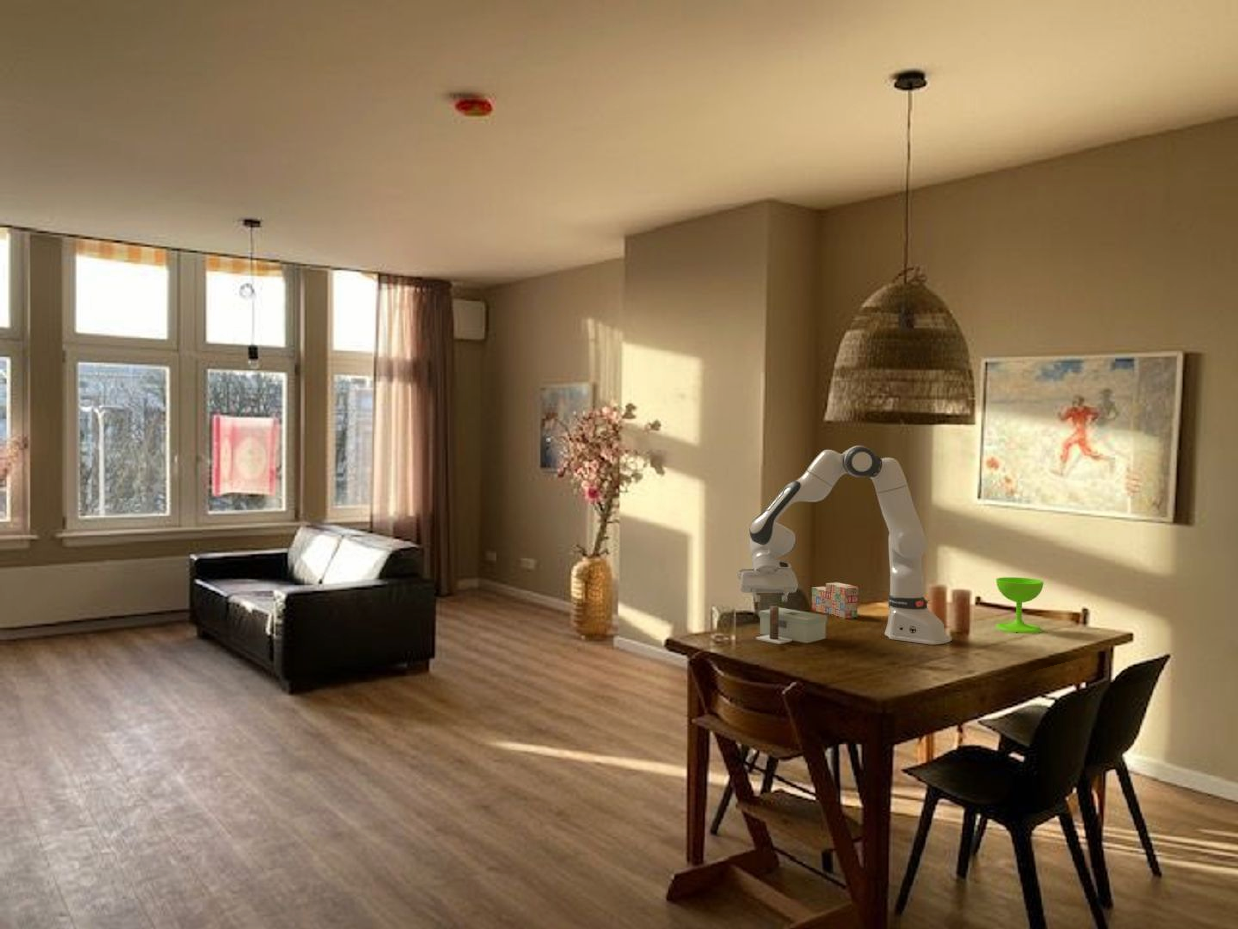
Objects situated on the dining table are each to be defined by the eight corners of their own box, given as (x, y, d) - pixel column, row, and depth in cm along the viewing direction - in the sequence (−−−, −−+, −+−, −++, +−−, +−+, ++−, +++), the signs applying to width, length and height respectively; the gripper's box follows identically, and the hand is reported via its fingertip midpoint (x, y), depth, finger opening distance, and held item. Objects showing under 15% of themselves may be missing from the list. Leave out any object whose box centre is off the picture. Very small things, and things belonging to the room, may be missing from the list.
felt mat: (791, 641, 312) (791, 639, 312) (779, 644, 307) (779, 642, 307) (768, 636, 319) (768, 634, 319) (755, 639, 315) (755, 637, 315)
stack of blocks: (811, 609, 372) (811, 579, 372) (823, 608, 375) (823, 579, 375) (845, 619, 353) (845, 587, 353) (857, 618, 356) (858, 586, 355)
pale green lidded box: (826, 638, 317) (826, 615, 317) (806, 643, 309) (806, 619, 309) (778, 629, 332) (779, 607, 332) (758, 633, 324) (758, 611, 324)
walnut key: (780, 638, 313) (780, 606, 313) (774, 639, 311) (775, 607, 311) (773, 637, 315) (773, 605, 315) (767, 638, 313) (768, 606, 313)
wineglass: (1050, 634, 328) (1051, 584, 327) (1005, 633, 328) (1006, 583, 327) (1031, 625, 344) (1032, 577, 343) (988, 624, 344) (989, 577, 343)
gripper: (738, 564, 325) (743, 596, 315) (795, 563, 326) (801, 595, 316) (736, 574, 329) (740, 606, 320) (792, 574, 330) (798, 606, 321)
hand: (771, 601), depth 318 cm, fingers open, 8 cm apart
